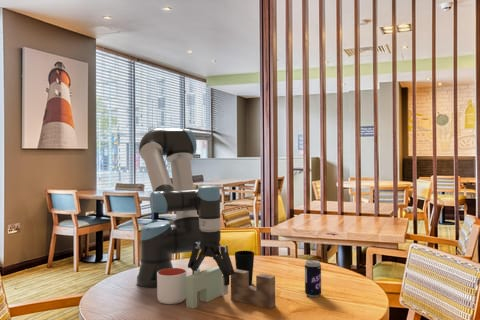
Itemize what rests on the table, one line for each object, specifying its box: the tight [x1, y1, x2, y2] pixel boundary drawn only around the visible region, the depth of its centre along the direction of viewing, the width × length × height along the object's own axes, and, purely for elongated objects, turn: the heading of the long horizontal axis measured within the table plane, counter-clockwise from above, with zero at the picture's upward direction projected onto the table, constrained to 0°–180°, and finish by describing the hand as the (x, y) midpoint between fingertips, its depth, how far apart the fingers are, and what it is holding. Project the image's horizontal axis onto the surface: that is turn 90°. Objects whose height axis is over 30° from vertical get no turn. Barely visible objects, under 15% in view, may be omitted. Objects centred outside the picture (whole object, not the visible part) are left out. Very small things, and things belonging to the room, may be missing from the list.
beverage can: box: [304, 259, 322, 298], centre depth 149 cm, size 6×6×12 cm
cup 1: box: [156, 267, 187, 305], centre depth 146 cm, size 10×10×10 cm
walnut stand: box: [230, 268, 276, 310], centre depth 142 cm, size 16×3×10 cm, turn 55°
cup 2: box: [234, 250, 255, 286], centre depth 164 cm, size 8×8×12 cm
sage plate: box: [185, 265, 223, 309], centre depth 145 cm, size 16×3×10 cm, turn 145°
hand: (210, 291), depth 148 cm, fingers open, 12 cm apart
